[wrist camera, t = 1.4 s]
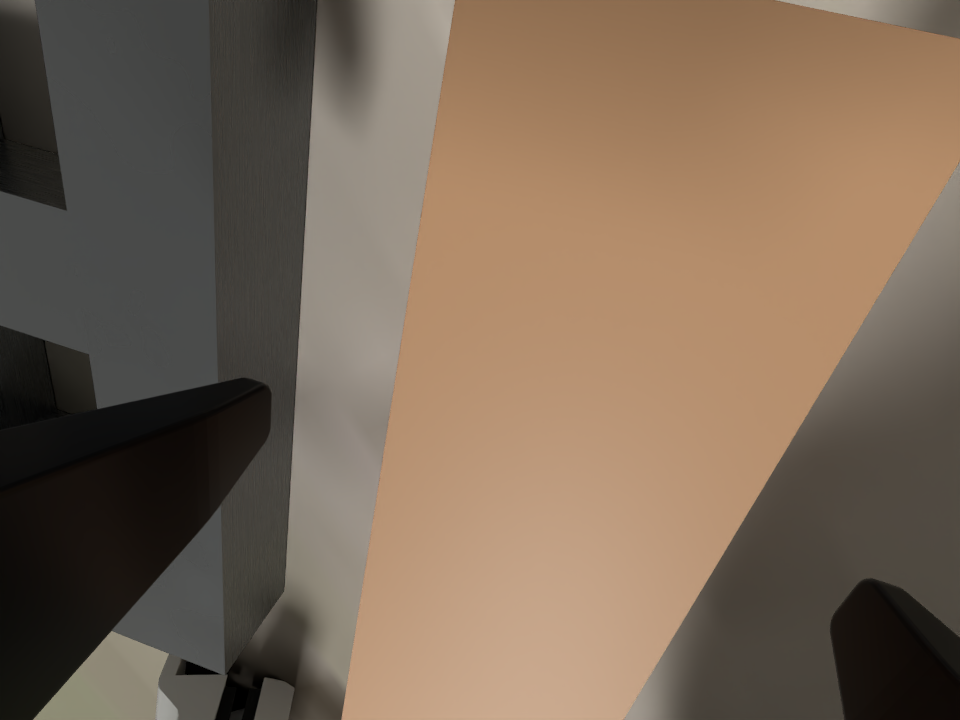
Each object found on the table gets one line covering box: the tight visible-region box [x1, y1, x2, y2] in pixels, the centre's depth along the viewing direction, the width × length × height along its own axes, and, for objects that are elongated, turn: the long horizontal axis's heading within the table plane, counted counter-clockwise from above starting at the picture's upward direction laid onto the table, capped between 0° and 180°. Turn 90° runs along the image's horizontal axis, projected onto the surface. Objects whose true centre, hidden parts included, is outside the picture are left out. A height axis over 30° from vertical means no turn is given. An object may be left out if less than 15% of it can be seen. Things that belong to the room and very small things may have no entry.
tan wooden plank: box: [342, 0, 960, 720], centre depth 9 cm, size 4×12×6 cm, turn 168°
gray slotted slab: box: [0, 0, 317, 675], centre depth 12 cm, size 11×22×3 cm, turn 168°
